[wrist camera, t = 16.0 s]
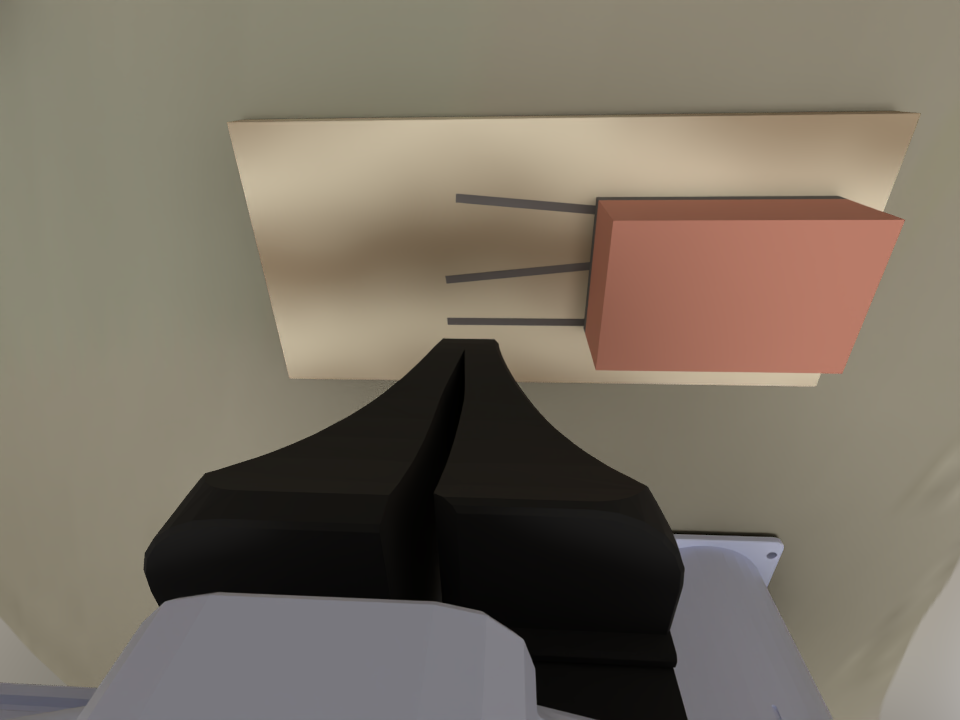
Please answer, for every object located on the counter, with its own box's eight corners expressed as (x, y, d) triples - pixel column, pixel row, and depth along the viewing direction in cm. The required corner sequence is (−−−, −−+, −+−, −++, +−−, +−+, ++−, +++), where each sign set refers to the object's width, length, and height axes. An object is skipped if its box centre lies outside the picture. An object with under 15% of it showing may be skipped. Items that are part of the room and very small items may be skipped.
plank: (800, 371, 21) (816, 386, 20) (299, 364, 22) (289, 378, 21) (894, 110, 16) (921, 113, 15) (243, 119, 17) (226, 122, 16)
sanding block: (793, 330, 19) (842, 373, 16) (583, 328, 19) (595, 370, 17) (838, 195, 16) (904, 220, 14) (596, 197, 17) (613, 220, 14)
